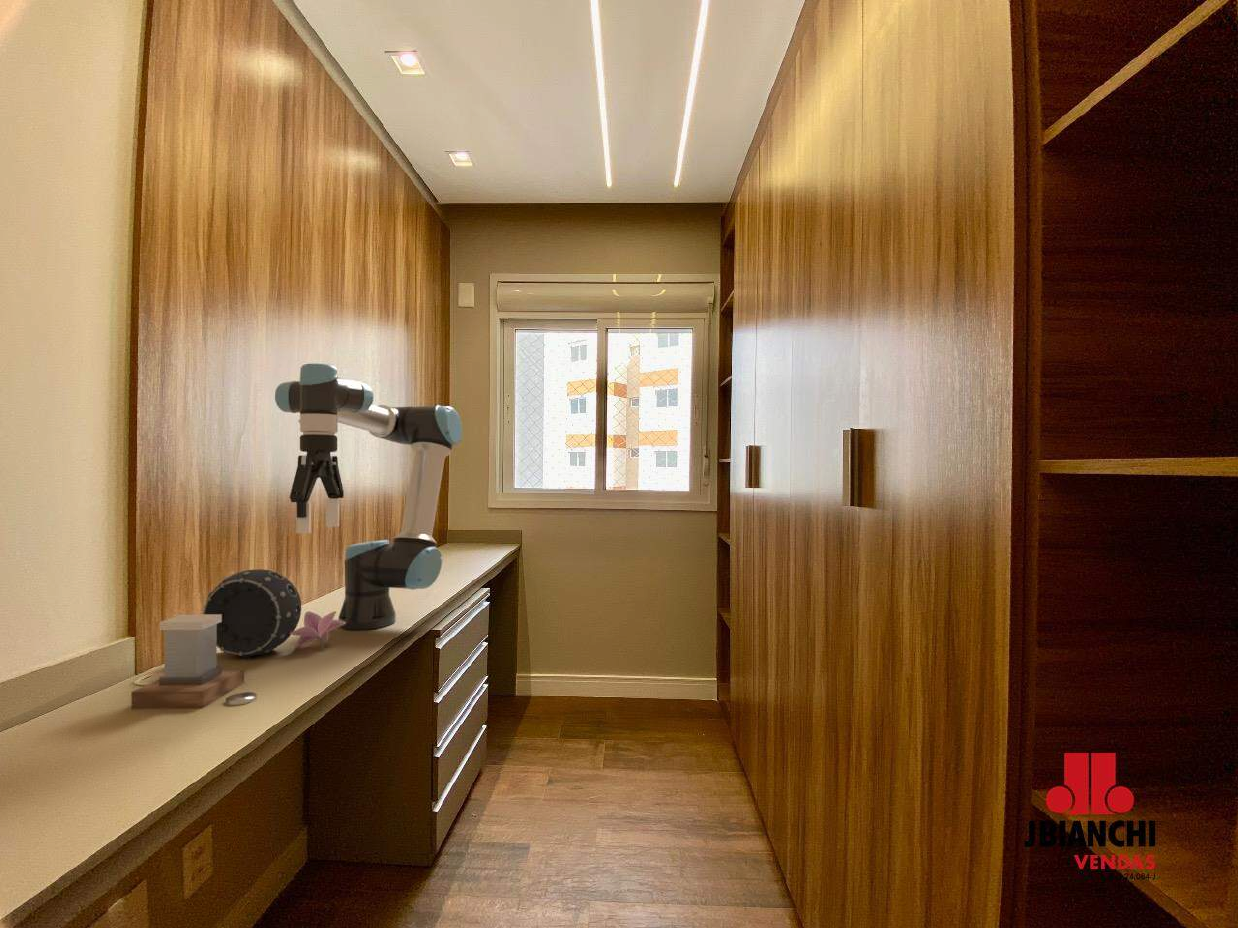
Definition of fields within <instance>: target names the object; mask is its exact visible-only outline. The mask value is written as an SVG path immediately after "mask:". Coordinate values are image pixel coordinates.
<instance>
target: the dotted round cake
mask: <svg viewBox="0 0 1238 928" xmlns="http://www.w3.org/2000/svg"><path fill="white" fill-rule="evenodd" d="M202 612H203V613H202V614H222V622H220V623H218V624H217V648H218V649H220V651H221V652H223V653H224V654H230V655H234V656H240V657H242V658H244V659H246V658H249V657H252V656H258V655H263V654H267V653H269V652H271V651H273V650H274V649H276V648H277V647H279V646H281V645H282V644H283V643H285V642H286V641H287V640H288V639H289V638H291V636H292V635H291V634H290V633H291V632H293V631H295V630H296V629H297V626H298V624H299V623H300V620H301V616H302V600H301V597H300V594H299V592H298V590H297V588H296V587H295V585H294V584H293V583H292V581H290V580H289V579H288V578H287V577H285V576H284V575H282V574H281V573H278V572H276V571H273V570H270V569H264V568H262V569H258V568H257V569H247V570H243V571H238V572H237V573H234V574H232V575H230V576H227V577H224V578H223V579H222V581H221V582H220V583H219V584H218V585H217V586H215V587H214V589H213V590H211V591H210V592H209V593H208V594H207V598H206V601H205V604H204V607H203V611H202Z"/></svg>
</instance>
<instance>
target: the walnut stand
mask: <svg viewBox="0 0 1238 928" xmlns="http://www.w3.org/2000/svg"><path fill="white" fill-rule="evenodd" d="M242 683H243V684H244V683H245V668H243V667H241V668H238V667H237V668H235V667H234V668H229V667H228V668H227V667H226V668H225V667H224V668H222V674H221V675H219V676H217V677H215V678H214V679H212V680H210V681H208V682H206V683H204V684H203V685H159V678H158V679H155V680H154V681H152V682H149V683H148V684H146V685H143V686H141V687H139V688H137V689H136V690H133V691H131V700H130V701H131V707H130V708H131V709H190V708H191V709H203V708H206V707H207V706H208V705H210V704H211V703H214V702H215V701H217V700H218V699H220V698H221V697H223V696H225V695H227V694H228V693H229V692H232V691H233V690H234V689H237V688H238V687H239V685H240V686H242V685H243V684H242Z"/></svg>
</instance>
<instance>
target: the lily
mask: <svg viewBox="0 0 1238 928" xmlns="http://www.w3.org/2000/svg"><path fill="white" fill-rule="evenodd" d="M336 614H337V611H336V610H335V611H331V612H330V613H328V614H326V615H325V616H323V617H321V615H319V614H318V613H315V612H312V611H306V612H305V613H304V615H303V616H304V617H303V625H304V626H302V627H300V628H296V629H295V630H294V631H293V632H291V633H290V634H291V635H290V636H299V638H298V640H297V643H296V648H300V647H301V646H302V647H303V645H305V644H307V643H309V642H311V641H312V640H317V641H319V642H320V643H321V648H322V650H323V652H326V651H325V647H324V644H326V643H328V642H329V641H328V640H329V632H330V631H333V630H334V629H337V628H340V627H339V626H342V625H344V624H346V622H344V621H341V620H338V619H334V617H335V615H336Z"/></svg>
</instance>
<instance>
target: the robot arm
mask: <svg viewBox="0 0 1238 928" xmlns="http://www.w3.org/2000/svg"><path fill="white" fill-rule="evenodd" d="M299 375H300V376H299V380H292V381H287V382H286V381H285V382H282V383H280V384H279V385H278V386H277V387H276V389H275V393H274V401H275V403H276V406H277V408H278V409H279V410H281V411H282V412H285V413H292V414H296V413H299V419H298V423H299V432H300V433H302V434H300V436H299V451H300V452H305V453H306V455H305V454H304V455H298V457H297V466H296V469H295V475H294V478H293V481H292V487H291V490H290V494H289V498H290V499H289V500H290V502H291V503H296V504H295V505H296V508H295V509H296V511H295V512H296V513H295V514H296V515H295V516H296V517H295V518H296V522H295V523H296V525H295V527H296V528H295V529H296V531H295V533H296V534H311V533H312V502H311V501H309V500H310V498H311V495H312V493H313V491H314V488H315V485H316V483H317V480H318V479H319V478H320V480H321V483H322V485H323V488H324V490H325V493H326V495H327V497H328V498H325V528H326V527H330V528H331V527H333V528H335V527H340V499H343V498H344V493H345V492H344V487H343V483H342V477H341V473H340V469H339V463H338V462H339V459H338V456H337V455H331V453H335V452H337V451H338V436H337V435H335V434H337V433H338V431H339V430H338V429H339V428H338V425H339V424H342V425H345V426H350V427H352V428H356V429H360V430H363V431H367V432H369V434H370V435H372V436H373V437H376V438H379V439H383V440H386V441H390V442H393V443H396V444H400V445H409V446H410V449H412V451H413V452H414V458H413V462H412V468H411V473H410V480H409V484H408V490H407V491H408V492H407V496H406V502H405V507H404V513H403V518H402V524H401V529H400V532H399V533H398V534H397V535H395V536H394V537H393V542H392V545H391V543H390V541H389V539H381V540H380V539H379V540H373V541H365V542H359V543H354V544H350V545H349V546H347V547H346V549H345V555H344V557H345V558H344V561H343V562H344V599H343V603H342V605H341V608H340V611H339V615H338V618H337V620H341V621H344V622H346V624H344V625H342V626H339V627H338V628H340V629H343V630H352V631H354V630H359V631H360V630H371V629H373V630H374V629H377V628H382V627H383V628H384V627H387V626H390V625H392V624H394V623H395V622H396V620H397V619H396V618H397V617H396V615H397V614H396V611H395V608H394V605H393V602H392V599H391V596H390V589H407V590H424V589H428V588H429V587H431V586H433V584H434V583H435V582H436V581H437V579H438V577H439V576H440V573H441V570H442V565H443V558H442V556H443V555H442V552H441V550H440V549H439V548H437V541H436V540H435V539H434V538H433V532H434V527H435V521H436V514H437V508H438V503H439V496H440V490H441V485H442V484H441V483H442V477H443V471H444V465H445V460H446V457H448V456H449V455H451V453H452V448H453V446H457V445H459V444H460V442H461V440H462V439H463V425H462V421H461V419H460V418H461V417H460V414H459V413H458V412H457V411H456V410H455V408H453V407H452V406H449V405H447V406H446V405H427V406H426V405H425V406H423V405H422V406H419V405H418V406H388V405H385V404H379V405H375V404H373V402H374V392H373V390H372V388H371V387H370V386H369V385H368V384H367V383H364V382H361V381H359V380H358V379H357V380H353V379H352V380H351V379H347V378H342V377H339V374H338V369H337V367H335V366H334V365H332V364H326V363H325V364H324V363H305V364H302V366H301V367H300V373H299Z"/></svg>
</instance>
